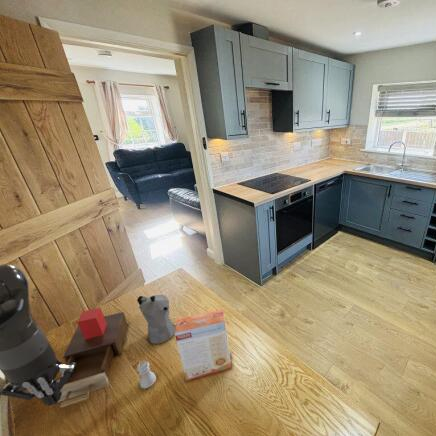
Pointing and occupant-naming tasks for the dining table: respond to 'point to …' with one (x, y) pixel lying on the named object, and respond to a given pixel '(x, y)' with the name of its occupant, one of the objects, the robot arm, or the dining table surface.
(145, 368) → the rook chess piece
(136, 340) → the dining table surface
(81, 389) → the drawer
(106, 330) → the cabinet
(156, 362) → the dining table surface
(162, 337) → the grey upright piece
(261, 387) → the dining table surface
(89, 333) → the block
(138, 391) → the dining table surface
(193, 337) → the cracker box
